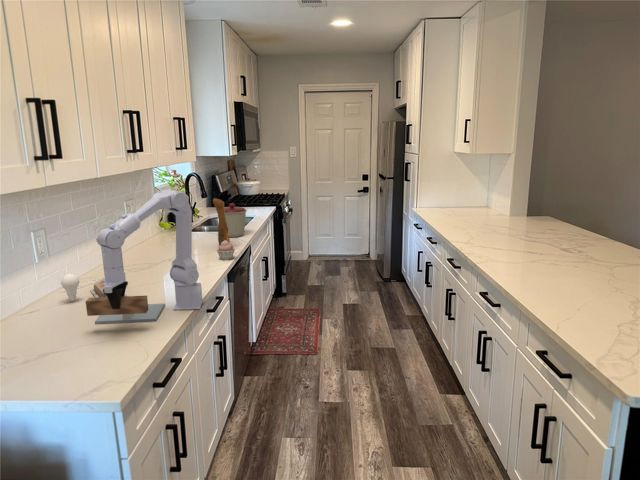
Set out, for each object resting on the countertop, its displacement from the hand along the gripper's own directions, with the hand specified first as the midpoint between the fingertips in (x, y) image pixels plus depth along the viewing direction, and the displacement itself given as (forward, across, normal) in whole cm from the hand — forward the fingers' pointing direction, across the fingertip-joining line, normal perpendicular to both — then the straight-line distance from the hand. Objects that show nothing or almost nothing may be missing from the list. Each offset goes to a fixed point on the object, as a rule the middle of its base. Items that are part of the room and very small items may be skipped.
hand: (117, 306), depth 141 cm
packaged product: (+9, -35, -15) cm, 39 cm away
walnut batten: (+2, 0, 0) cm, 2 cm away
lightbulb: (+9, -29, -26) cm, 40 cm away
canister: (+9, -137, +28) cm, 140 cm away
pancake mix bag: (+9, -108, +24) cm, 111 cm away
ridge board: (+8, -13, 0) cm, 15 cm away
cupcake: (+9, -83, +28) cm, 88 cm away
